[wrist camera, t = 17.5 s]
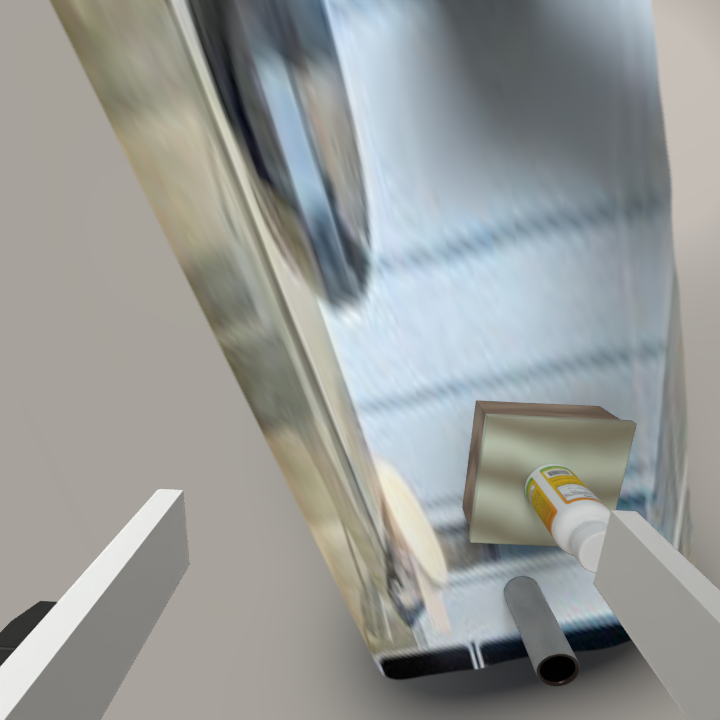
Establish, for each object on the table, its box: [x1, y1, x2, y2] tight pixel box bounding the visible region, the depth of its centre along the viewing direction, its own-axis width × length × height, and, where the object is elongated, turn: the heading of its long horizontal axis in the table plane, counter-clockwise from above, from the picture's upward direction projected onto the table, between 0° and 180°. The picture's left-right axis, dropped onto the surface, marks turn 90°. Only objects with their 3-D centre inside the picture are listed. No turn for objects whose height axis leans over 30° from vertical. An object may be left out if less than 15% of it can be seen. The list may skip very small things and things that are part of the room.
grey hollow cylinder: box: [504, 577, 580, 686], centre depth 46 cm, size 4×4×10 cm
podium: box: [463, 401, 636, 546], centre depth 44 cm, size 15×15×6 cm
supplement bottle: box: [525, 464, 611, 573], centre depth 36 cm, size 5×5×10 cm
